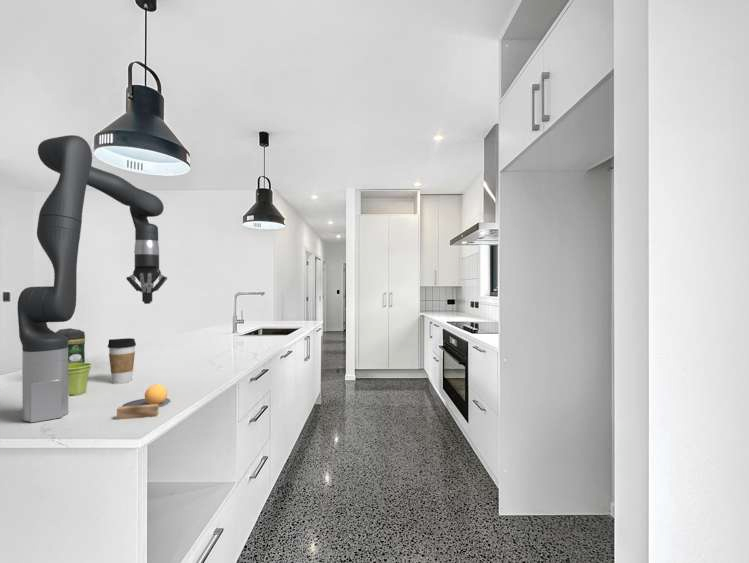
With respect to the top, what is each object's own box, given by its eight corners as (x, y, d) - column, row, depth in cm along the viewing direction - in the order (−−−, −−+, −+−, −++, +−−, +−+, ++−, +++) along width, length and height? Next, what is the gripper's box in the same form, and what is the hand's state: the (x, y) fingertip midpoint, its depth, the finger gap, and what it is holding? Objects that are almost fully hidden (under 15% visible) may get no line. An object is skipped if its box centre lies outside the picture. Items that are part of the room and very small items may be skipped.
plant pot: (69, 398, 122) (69, 369, 122) (47, 396, 125) (47, 367, 126) (99, 391, 131) (99, 363, 131) (78, 388, 134) (78, 362, 134)
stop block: (158, 413, 107) (158, 403, 107) (156, 416, 105) (156, 406, 105) (119, 416, 105) (119, 406, 105) (116, 419, 103) (116, 409, 103)
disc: (175, 404, 115) (175, 404, 115) (125, 413, 108) (125, 412, 108) (164, 395, 125) (164, 395, 125) (118, 403, 117) (118, 402, 117)
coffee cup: (101, 383, 141) (101, 339, 141) (123, 378, 149) (123, 336, 149) (120, 385, 138) (120, 340, 138) (141, 379, 146) (141, 337, 146)
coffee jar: (51, 382, 143) (50, 328, 144) (77, 378, 150) (77, 326, 150) (61, 386, 138) (61, 330, 138) (88, 381, 144) (88, 328, 144)
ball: (171, 382, 118) (171, 401, 118) (152, 381, 118) (152, 401, 119) (160, 387, 112) (160, 408, 113) (140, 387, 113) (140, 407, 113)
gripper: (170, 254, 149) (170, 302, 149) (129, 254, 146) (129, 303, 146) (165, 253, 142) (165, 303, 142) (122, 252, 139) (122, 304, 139)
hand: (147, 303), depth 144 cm, fingers closed
